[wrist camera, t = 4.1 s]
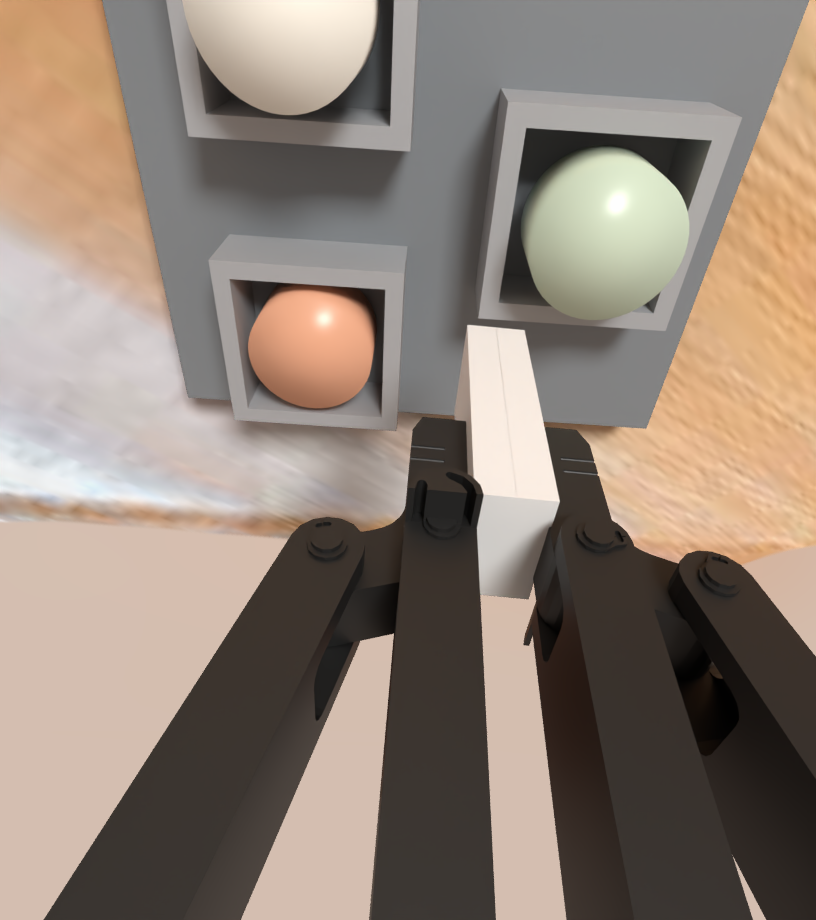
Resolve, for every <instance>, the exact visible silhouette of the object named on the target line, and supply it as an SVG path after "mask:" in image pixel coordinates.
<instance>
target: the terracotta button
mask: <svg viewBox="0 0 816 920" xmlns="http://www.w3.org/2000/svg"><path fill="white" fill-rule="evenodd" d="M376 337H377V322H376V317H375V314H374V311H373V308H372V306H371V304H370V303H369V301H368V300H367V298H366V297H365V295H364V294H363V293H362V292H361V291H360V290H359V289H358V288H354V287H339V286H325V285H310V284H295V283H279V284H278V285H277V286H276V287H275V288H274V290H273V291H272V292H271V294H270V295H269V297H268V299H267V301H266V303H265V305H264V306H263V308H262V310H261V312H260V314H259V316H258V318H257V319H256V321H255V323H254V325H253V327H252V330H251V332H250V336H249V342H248V352H249V358H250V361H251V364H252V367H253V369H254V371H255V373H256V375H257V376H258V378H259V379H260V381H261V382H262V383H263V384H264V385H265V386H266V387H267V388H268V389H269V390H270V391H271V392H273V393H274V394H275V395H277V396H278V397H280V398H281V399H283V400H285V401H287V402H289V403H292V404H295V405H298V406H302V407H307V408H328V407H333V406H337V405H340V404H342V403H344V402H346V401H348V400H350V399H351V398H353V397H354V396H355V395H356V394H357V393H359V391H360V390H361V389H362V388H363V386H364V385H365V383H366V382H367V379H368V377H369V374H370V370H371V365H372V360H373V354H374V348H375V343H376Z"/></svg>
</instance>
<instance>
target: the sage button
mask: <svg viewBox="0 0 816 920" xmlns="http://www.w3.org/2000/svg"><path fill="white" fill-rule="evenodd" d="M688 238H689V217H688V211H687V208H686V205H685V202H684V200H683V198H682V196H681V194H680V193H679V191H678V190H677V188H676V187H675V186H674V185H673V184H672V183H671V182H670V181H669V180H668V179H667V178H666V177H665V176H664V175H663V174H661V173H660V172H659V171H658V170H657V169H656V168H655V167H654V166H652V165H651V164H650V163H649V162H648V161H647V160H646V159H645V158H643V157H642V156H640V155H639V154H638V153H636V152H634V151H632V150H630V149H628V148H624V147H621V146H616V145H594V146H588V147H585V148H581V149H578V150H576V151H574V152H571V153H569V154H568V155H566V156H564V157H562V158H561V159H559V160H558V161H557V162H555V163H554V164H553V165H552V166H551V167H549V168H548V169H547V170H546V171H545V172H544V173H543V175H542V176H541V177H540V178H539V179H538V181H537V182H536V184H535V185H534V187H533V188H532V190H531V192H530V194H529V196H528V198H527V200H526V203H525V206H524V209H523V214H522V219H521V239H522V245H523V248H524V251H525V255H526V258H527V261H528V264H529V268H530V271H531V274H532V278H533V281H534V283H535V285H536V287H537V289H538V291H539V292H540V294H541V295H542V297H543V298H544V299H545V300H546V301H547V302H548V303H549V304H550V305H551V306H552V307H554V308H555V309H557V310H558V311H560V312H562V313H564V314H566V315H568V316H571V317H575V318H578V319H585V320H604V319H610V318H615V317H618V316H621V315H624V314H627V313H629V312H631V311H634V310H636V309H638V308H639V307H641V306H643V305H644V304H646V303H647V302H649V301H650V300H651V299H653V298H654V297H655V296H656V295H657V294H658V293H659V292H660V291H662V290H663V288H664V287H665V286H666V285H667V284H668V283H669V282H670V280H671V279H672V277H673V276H674V275H675V273H676V271H677V269H678V268H679V266H680V264H681V262H682V259H683V257H684V255H685V251H686V248H687V244H688Z"/></svg>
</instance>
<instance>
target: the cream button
mask: <svg viewBox="0 0 816 920" xmlns="http://www.w3.org/2000/svg"><path fill="white" fill-rule="evenodd" d="M182 2H183V7H184V12H185V17H186V20H187V23H188V27H189V30H190V32H191V35H192V37H193V40H194V42H195V45H196V47H197V48H198V50H199V52H200V54H201V56H202V58H203V59H204V61H205V62H206V64H207V65H208V67H209V68H210V70H211V71H212V72H213V74H214V75H215V76H216V77H217V78H218V80H219V81H220V82H221V83H222V84H223V85H224V86H225V87H226V88H227V89H228V90H229V91H231V92H232V93H233V94H234V95H236V96H237V97H238V98H240V99H241V100H243V101H244V102H246V103H248V104H249V105H251V106H253V107H256V108H258V109H260V110H263V111H266V112H270V113H273V114H280V115H299V114H305V113H309V112H312V111H315V110H318V109H320V108H322V107H324V106H326V105H327V104H329V103H330V102H332V101H333V100H334V99H336V98H337V97H338V96H339V95H340V94H341V93H342V92H343V91H344V90H345V89H346V88H347V87H348V86H349V84H350V83H351V82H352V81H353V80H354V79H355V77H356V76H357V75H358V74H359V72H360V71H361V70H362V68H363V67H364V65H365V63H366V62H367V60H368V58H369V56H370V54H371V51H372V49H373V46H374V43H375V40H376V36H377V31H378V26H379V17H380V0H182Z"/></svg>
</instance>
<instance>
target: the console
mask: <svg viewBox="0 0 816 920" xmlns="http://www.w3.org/2000/svg"><path fill="white" fill-rule="evenodd" d="M102 2H103V7H104V11H105V16H106V20H107V25H108V30H109V34H110V39H111V44H112V48H113V53H114V57H115V62H116V67H117V71H118V76H119V80H120V85H121V90H122V94H123V99H124V104H125V108H126V113H127V117H128V122H129V127H130V131H131V136H132V140H133V145H134V150H135V154H136V159H137V163H138V168H139V173H140V177H141V182H142V187H143V191H144V196H145V200H146V205H147V210H148V214H149V219H150V223H151V228H152V233H153V237H154V242H155V247H156V251H157V256H158V260H159V265H160V270H161V274H162V279H163V283H164V288H165V293H166V297H167V302H168V306H169V311H170V316H171V320H172V325H173V330H174V334H175V339H176V343H177V348H178V353H179V357H180V362H181V366H182V371H183V376H184V380H185V385H186V390H187V394H188V397H189V398H204V399H218V400H231V402H232V408H233V414H234V420H241V421H256V422H271V423H285V424H300V425H315V426H330V427H344V428H359V429H374V430H389V431H396V429H397V419H398V412H410V413H425V414H439V415H454V411H455V404H456V398H457V391H458V384H459V377H460V371H461V364H462V357H463V351H464V344H465V337H466V330H467V325H475V326H486V327H496V328H507V329H517V330H525V335H526V340H527V345H528V350H529V355H530V359H531V364H532V369H533V374H534V379H535V384H536V389H537V393H538V398H539V403H540V408H541V413H542V418H543V422H557V423H572V424H587V425H601V426H616V427H631V428H647V425H648V422H649V420H650V417H651V415H652V412H653V409H654V407H655V404H656V401H657V399H658V396H659V394H660V391H661V388H662V386H663V383H664V380H665V378H666V375H667V373H668V370H669V367H670V365H671V362H672V359H673V357H674V354H675V352H676V349H677V346H678V344H679V341H680V338H681V336H682V333H683V331H684V328H685V325H686V323H687V320H688V317H689V315H690V312H691V310H692V307H693V304H694V302H695V299H696V296H697V294H698V291H699V289H700V286H701V283H702V281H703V278H704V275H705V273H706V270H707V267H708V265H709V262H710V260H711V257H712V254H713V252H714V249H715V246H716V244H717V241H718V239H719V236H720V233H721V231H722V228H723V225H724V223H725V220H726V218H727V215H728V212H729V210H730V207H731V204H732V202H733V199H734V197H735V194H736V191H737V189H738V186H739V183H740V181H741V178H742V176H743V173H744V170H745V168H746V165H747V162H748V160H749V157H750V155H751V152H752V149H753V147H754V144H755V141H756V139H757V136H758V133H759V131H760V128H761V126H762V123H763V120H764V118H765V115H766V112H767V110H768V107H769V105H770V102H771V99H772V97H773V94H774V91H775V89H776V86H777V84H778V81H779V78H780V76H781V73H782V70H783V68H784V65H785V63H786V60H787V57H788V55H789V52H790V49H791V47H792V44H793V42H794V39H795V36H796V34H797V31H798V28H799V26H800V23H801V21H802V18H803V15H804V13H805V10H806V7H807V5H808V2H809V0H380V17H379V26H378V31H377V36H376V40H375V43H374V46H373V49H372V51H371V54H370V56H369V58H368V60H367V62H366V63H365V65H364V67H363V68H362V70H361V71H360V72H359V74H358V75H357V76H356V77H355V79H354V80H353V81H352V82H351V83H350V84H349V86H348V87H347V88H346V89H345V90H344V91H343V92H342V93H341V94H340V95H339V96H338V97H337V98H336V99H334V100H333V101H332V102H330V103H329V104H327V105H326V106H324V107H322V108H320V109H318V110H315V111H312V112H309V113H305V114H299V115H280V114H273V113H270V112H266V111H263V110H260V109H258V108H256V107H253V106H251V105H249V104H248V103H246V102H244V101H243V100H241V99H240V98H238V97H237V96H236V95H234V94H233V93H232V92H231V91H229V90H228V89H227V88H226V87H225V86H224V85H223V84H222V83H221V82H220V81H219V80H218V78H217V77H216V76H215V75H214V74H213V72H212V71H211V70H210V68H209V67H208V65H207V64H206V62H205V61H204V59H203V58H202V56H201V54H200V52H199V50H198V48H197V47H196V45H195V42H194V40H193V37H192V35H191V32H190V30H189V27H188V23H187V20H186V17H185V12H184V7H183V2H182V0H102ZM594 145H616V146H621V147H624V148H628V149H630V150H632V151H634V152H636V153H638V154H639V155H640V156H642V157H643V158H645V159H646V160H647V161H648V162H649V163H650V164H651V165H652V166H654V167H655V168H656V169H657V170H658V171H659V172H660V173H661V174H663V175H664V176H665V177H666V178H667V179H668V180H669V181H670V182H671V183H672V184H673V185H674V186H675V187H676V188H677V190H678V191H679V193H680V194H681V196H682V198H683V200H684V202H685V205H686V208H687V211H688V217H689V238H688V244H687V248H686V251H685V255H684V257H683V259H682V262H681V264H680V266H679V268H678V269H677V271H676V273H675V275H674V276H673V277H672V279H671V280H670V282H669V283H668V284H667V285H666V286H665V287H664V288H663V290H662V291H660V292H659V293H658V294H657V295H656V296H655V297H654V298H653V299H651V300H650V301H649V302H647V303H646V304H644V305H643V306H641V307H639V308H638V309H636V310H634V311H631V312H629V313H627V314H624V315H621V316H618V317H615V318H610V319H604V320H585V319H578V318H575V317H571V316H568V315H566V314H564V313H562V312H560V311H558V310H557V309H555V308H554V307H552V306H551V305H550V304H549V303H548V302H547V301H546V300H545V299H544V298H543V297H542V295H541V294H540V292H539V291H538V289H537V287H536V285H535V283H534V281H533V278H532V274H531V271H530V268H529V264H528V261H527V258H526V255H525V251H524V248H523V245H522V239H521V219H522V214H523V209H524V206H525V203H526V200H527V198H528V196H529V194H530V192H531V190H532V188H533V187H534V185H535V184H536V182H537V181H538V179H539V178H540V177H541V176H542V175H543V173H544V172H545V171H546V170H547V169H548V168H549V167H551V166H552V165H553V164H554V163H555V162H557V161H558V160H559V159H561V158H562V157H564V156H566V155H568V154H569V153H571V152H574V151H576V150H578V149H581V148H585V147H588V146H594ZM279 283H295V284H310V285H325V286H339V287H354V288H358V289H359V290H360V291H361V292H362V293H363V294H364V295H365V297H366V298H367V300H368V301H369V303H370V304H371V306H372V308H373V311H374V314H375V317H376V322H377V337H376V343H375V348H374V354H373V360H372V365H371V370H370V374H369V377H368V379H367V382H366V383H365V385H364V386H363V388H362V389H361V390H360V391H359V393H357V394H356V395H355V396H354V397H353V398H351V399H350V400H348V401H346V402H344V403H342V404H340V405H337V406H333V407H328V408H307V407H302V406H298V405H295V404H292V403H289V402H287V401H285V400H283V399H281V398H280V397H278V396H277V395H275V394H274V393H273V392H271V391H270V390H269V389H268V388H267V387H266V386H265V385H264V384H263V383H262V382H261V381H260V379H259V378H258V376H257V375H256V373H255V371H254V369H253V367H252V364H251V361H250V358H249V352H248V342H249V336H250V332H251V330H252V327H253V325H254V323H255V321H256V319H257V318H258V316H259V314H260V312H261V310H262V308H263V306H264V305H265V303H266V301H267V299H268V297H269V295H270V294H271V292H272V291H273V290H274V288H275V287H276V286H277V285H278V284H279ZM454 416H455V415H454Z"/></svg>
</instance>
